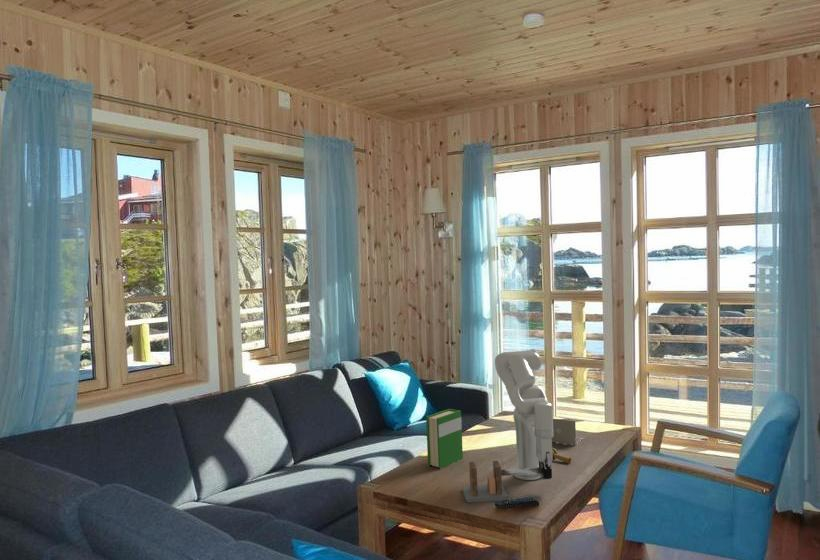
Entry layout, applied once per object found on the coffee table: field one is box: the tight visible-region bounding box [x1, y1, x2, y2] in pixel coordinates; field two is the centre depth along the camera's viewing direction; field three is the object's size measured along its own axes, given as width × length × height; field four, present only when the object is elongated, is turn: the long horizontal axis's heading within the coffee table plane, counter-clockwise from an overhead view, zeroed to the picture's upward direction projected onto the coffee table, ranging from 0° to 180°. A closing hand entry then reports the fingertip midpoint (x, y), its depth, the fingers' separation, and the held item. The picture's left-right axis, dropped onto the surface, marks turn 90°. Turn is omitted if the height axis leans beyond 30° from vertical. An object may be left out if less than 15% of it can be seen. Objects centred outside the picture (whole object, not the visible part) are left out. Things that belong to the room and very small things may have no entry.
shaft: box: [501, 462, 551, 480], centre depth 259 cm, size 20×4×6 cm, turn 92°
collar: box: [486, 473, 496, 494], centre depth 259 cm, size 2×6×6 cm, turn 2°
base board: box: [461, 484, 509, 504], centre depth 259 cm, size 17×14×2 cm
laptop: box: [551, 418, 584, 446], centre depth 330 cm, size 18×12×13 cm
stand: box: [468, 460, 503, 496], centre depth 259 cm, size 12×8×11 cm, turn 92°
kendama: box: [552, 447, 572, 465], centre depth 300 cm, size 8×6×18 cm
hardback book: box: [425, 408, 464, 469], centre depth 301 cm, size 18×7×24 cm, turn 138°
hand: (545, 474), depth 259 cm, fingers open, 7 cm apart
